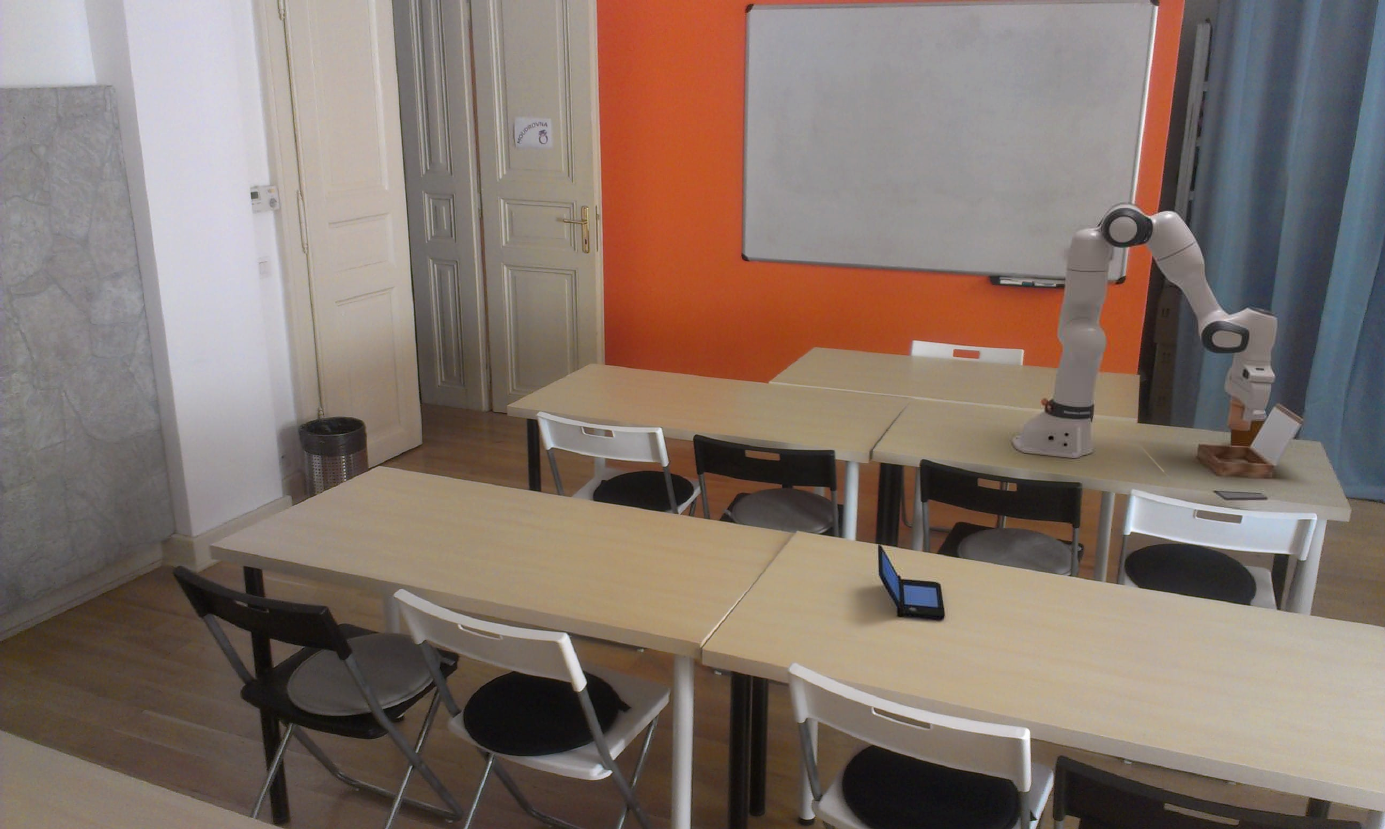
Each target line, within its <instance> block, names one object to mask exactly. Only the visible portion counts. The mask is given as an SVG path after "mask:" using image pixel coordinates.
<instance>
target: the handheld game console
mask: <svg viewBox="0 0 1385 829" xmlns="http://www.w3.org/2000/svg"><path fill="white" fill-rule="evenodd" d="M885 551H886V550H884V548H883V546H882V545H881V544H878V545H877V552H878V553H877V562H878V563H877V564H878V565H877V566H878V575H879V579H880V580H881V582H882V584H883V586H884V588H885V589H886V591H887V593H888V595H889V596H890V598H891V600H892V602H893V604H894V605H895V607H896V616H897V617H898V618H902V617H903V618H911V619H912V618H913V619H919V620H920V619H921V620H931V621H932V620H933V621H942V620H944V619H945V616H946V610H945V605H944V598H943V590H942V586H941V584H940V583H939V582H938V581H930V580H920V579H919V580H918V579H908V578H907V579H906V578H902V576H901V575H900V574H898V572H897V571H896V570H895V567H894V566H893V564H892V562H891V560H890V559H889V557H888V555H887V553H886V552H885Z"/></svg>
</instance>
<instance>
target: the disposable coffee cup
mask: <svg viewBox="0 0 1385 829" xmlns="http://www.w3.org/2000/svg"><path fill="white" fill-rule="evenodd" d="M1267 418H1268V416H1267V412H1266V410H1265V409H1264V410H1254V412H1253V415H1252V420H1251V425H1250V430H1248V431H1240V430H1234V429H1231V428H1230V445H1229V446H1249V447H1250V446H1251V444H1252V443H1253V441H1254V439H1255V438H1256V436H1257V434H1258V433H1259V431H1260V429H1261V428H1262V426H1263V424H1264V423H1265V421H1266V419H1267Z"/></svg>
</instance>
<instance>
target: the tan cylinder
mask: <svg viewBox="0 0 1385 829" xmlns="http://www.w3.org/2000/svg"><path fill="white" fill-rule="evenodd" d="M1229 403H1230V408H1229V413H1228V419H1227V423H1226V427H1227V428H1229V429H1230V430H1231V429H1234V430H1240V431H1248V430H1250V425H1251V420H1252V415H1253V413H1252V415H1251V418H1250V421H1243V420H1242V419H1241V417H1242V413H1244V411H1245V405H1244V404H1243V403H1241V402H1240V401H1239V400H1238V399H1236V398H1235V397H1232V396H1230V400H1229Z"/></svg>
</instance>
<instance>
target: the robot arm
mask: <svg viewBox="0 0 1385 829" xmlns="http://www.w3.org/2000/svg"><path fill="white" fill-rule="evenodd" d="M1193 234H1194V233H1192V231H1191V230H1190V228H1189V227H1188V225H1187V224H1186V222H1184V220H1183V219H1182V217H1181V216H1180V215H1179V214H1178V213H1177V212H1175V211H1172V210H1164V211H1161V212H1158V213H1156V214H1153V215H1147V214H1145V213H1144V211H1143V210H1142V209H1141V208H1140V207H1139V206H1138V205H1137V204H1135V203H1131V202H1120V203H1117V204H1115V205H1113V206H1112V207H1110V208H1109V209H1108V211H1107V212H1106V213H1105V214H1104V216H1103V217H1102V219H1101V220H1100V222H1099V223H1098V225H1097V226H1096V227H1090V228H1084V229H1080V230H1078V231H1077V232H1075V234H1074V235H1073V236H1072V239H1071V242H1070V245H1069V246H1070V247H1069V250H1068V255H1067V262H1066V269H1065V271H1066V272H1065V282H1064V293H1063V294H1064V295H1063V300H1062V304H1061V309H1060V313H1059V319H1058V326H1057V330H1056V331H1057V339H1058V341H1059V342H1060V344H1061V345H1062V351H1061V357H1060V360H1059V365H1058V368H1057V371H1056V373H1055V379H1054V388H1053V394H1052V395H1053V396H1052V399H1050V400H1048V398H1046V397H1045V398H1044V397H1043V398H1042V399H1041V401H1040V404H1041V405H1042V406H1043V407H1044V411H1042V412H1041V413H1039V414H1038V415H1036V416H1034V417H1032V418H1030V419H1028V420H1027V421H1026V422H1025V423H1023V427H1022V429H1021V431H1020V432H1021V433H1020V435H1015V436H1014V437H1012V441H1011V444H1012V445H1013V447H1014V448H1015V449H1016V450H1017V451H1019V452H1021V453H1025V454H1033V455H1043V456H1050V457H1060V458H1070V459H1077V458H1081V457H1082V456H1086V455H1090V454H1091V453H1093V451H1094V449H1093V448H1094V447H1093V443H1092V423H1093V420H1094V415H1095V403H1094V400H1095V392H1096V385H1097V379H1098V374H1099V371H1100V368H1101V363H1102V361H1103V358H1104V353H1105V352H1106V348H1107V336H1106V332H1105V331H1104V330H1103V328H1102V327H1101V326H1100V319H1101V314H1102V309H1103V306H1104V302H1105V300H1106V299H1107V290H1108V281H1109V280H1108V279H1109V270H1110V269H1109V268H1110V258H1111V254H1112V253H1113V250H1114V249H1115V248H1118V249H1119V248H1120V249H1126V248H1127V249H1128V248H1132V247H1136V246H1141V245H1145V246H1146V247H1147V249H1148V250H1149V251H1150V253H1151V255H1152V257H1153V259H1154V261H1155V263H1156V265H1157V267H1158V268H1159V270H1160V271H1161V273H1162V274H1163V275H1164V276H1165V278H1166V279H1167V281H1169V282H1170V283H1172V284H1174V285H1176V286H1177V287H1178V288H1179V289H1180V290H1181V291H1182V292H1183V294H1184V295H1185V297H1186V299H1187V301H1188V302H1189V304H1190V306H1191V308H1192V311H1193V312H1194V314H1195V317H1196V330H1197V335H1198V337H1199V339H1200V341H1201V343H1202V345H1203V347H1204V349H1206V350H1207V351H1209V352H1210V353H1213V354H1233V360H1232V365H1231V367H1229V369H1228V371H1227V375H1226V377H1225V382H1224V391H1225V392H1226V393H1228V394H1229V395H1231V397H1235V398H1236V399H1238V400H1239V401H1240V402H1241V403H1243V404H1244V405H1245V411H1244V413H1242V417H1241V419H1242V420H1243V421H1250V418H1251V415H1252V413H1253V412H1254V410H1265V409H1266V408H1267V406H1268V403H1269V400H1270V397H1271V396H1270V395H1271V392H1272V383H1274V382H1275V379H1276V375H1275V373H1274V372H1273V369H1272V366H1271V361H1272V349H1273V347H1274V345H1275V342H1276V336H1277V331H1278V318H1277V316H1276V315H1275V314H1274V312H1272V311H1271V310H1267V309H1264V308H1261V307H1256V306H1248V307H1247V308H1245V309H1243V310H1241V311H1238V312H1235V313H1233V314H1231V313H1230V312H1228V310H1226V309H1224V308H1223V307H1221V306H1222V305H1220V304H1219V303H1218V301H1217V299H1216V297H1215V295H1214V293H1213V291H1212V290H1211V288H1210V286H1209V283H1208V282H1207V279H1206V273H1205V271H1206V270H1205V268H1206V267H1205V265H1206V264H1205V260H1204V256H1203V253H1202V251H1201V248H1200V246H1199V244H1198V242H1197V240H1196V238H1195V236H1194V235H1193Z"/></svg>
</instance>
